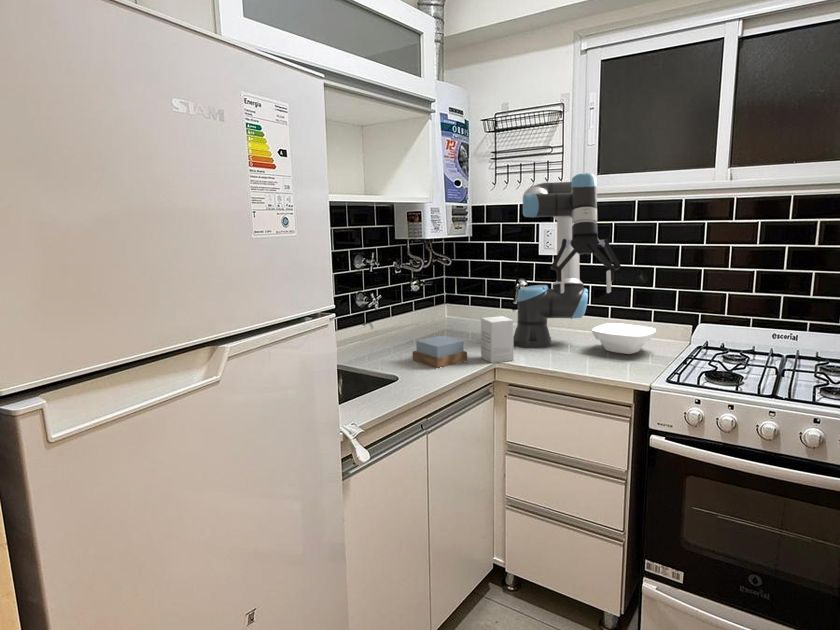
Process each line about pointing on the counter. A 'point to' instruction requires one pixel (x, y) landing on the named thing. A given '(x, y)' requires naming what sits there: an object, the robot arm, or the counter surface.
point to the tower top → (440, 346)
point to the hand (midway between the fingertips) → (585, 292)
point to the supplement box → (497, 339)
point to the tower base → (439, 359)
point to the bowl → (623, 337)
